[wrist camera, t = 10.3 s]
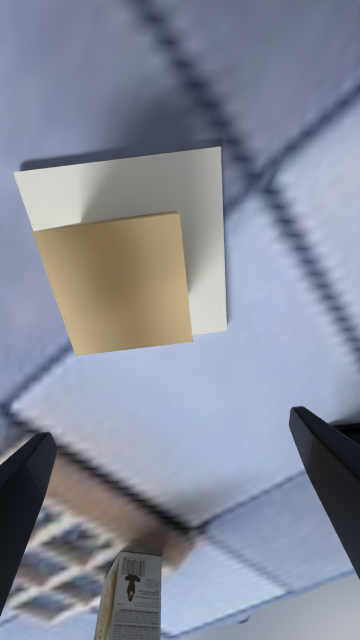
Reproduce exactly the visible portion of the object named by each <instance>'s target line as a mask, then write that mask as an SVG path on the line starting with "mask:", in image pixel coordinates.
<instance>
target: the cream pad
mask: <svg viewBox="0 0 360 640" xmlns="http://www.w3.org/2000/svg"><path fill="white" fill-rule="evenodd" d="M13 173H14V176H15V179H16V182H17V185H18V187H19V190H20V193H21V196H22V199H23V202H24V205H25V208H26V210H27V213H28V216H29V219H30V222H31V225H32V228H33V231H39V230H44V229H49V228H55V227H60V226H65V225H70V224H75V223H81V222H89V221H97V220H105V219H113V218H121V217H129V216H137V215H145V214H153V213H161V212H169V211H177V212H178V213H180V222H181V232H182V241H183V251H184V261H185V270H186V280H187V289H188V299H189V308H190V318H191V327H192V335H198V334H206V333H214V332H223V331H227V319H226V288H225V258H224V227H223V196H222V165H221V147H213V148H205V149H197V150H188V151H180V152H172V153H164V154H156V155H148V156H140V157H132V158H124V159H116V160H108V161H100V162H92V163H84V164H76V165H68V166H60V167H52V168H44V169H36V170H28V171H20V172H13Z"/></svg>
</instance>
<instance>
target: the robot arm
mask: <svg viewBox="0 0 360 640" xmlns="http://www.w3.org/2000/svg"><path fill="white" fill-rule="evenodd" d="M289 427H290V431H291V433H292V436H293V439H294V441H295V444H296V446H297V449H298V452H299V454H300V457H301V460H302V462H303V465H304V467H305V470H306V472H307V474H308V477H309V479H310V481H311V483H312V485H313V487H314V489H315V491H316V493H317V495H318V497H319V499H320V501H321V503H322V505H323V507H324V509H325V511H326V513H327V515H328V517H329V519H330V521H331V523H332V525H333V527H334V529H335V531H336V533H337V535H338V537H339V539H340V541H341V543H342V545H343V547H344V549H345V551H346V553H347V555H348V557H349V559H350V561H351V563H352V565H353V567H354V569H355V571H356V573H357V575H358V577H359V579H360V424H353V425H344V426H336V427H332V426H331V425H329V424H328V423H326V422H325V421H324V420H322V419H321V418H319V417H318V416H316V415H315V414H314V413H312V412H311V411H309V410H308V409H306V408H305V407H303V406H298V407H292V408H291V410H290V419H289ZM56 455H57V445H56V443H55V441H54V439H53V437H52V434H51V433H50V432H41V433H37V434H36V435H35V436H34V437H32V438H31V439H30V440H29V441H28V442H26V443H25V444H24V445H23V446H22V447H21V448H19V449H18V450H17V451H16V452H15V453H14V454H12V455H11V456H10V457H9V458H8V459H7V460H5V461H4V462H3V463H2V464H1V465H0V616H1V613H2V611H3V608H4V605H5V603H6V600H7V597H8V595H9V592H10V589H11V587H12V584H13V581H14V579H15V576H16V573H17V571H18V568H19V565H20V563H21V560H22V557H23V555H24V552H25V549H26V546H27V544H28V541H29V538H30V536H31V533H32V530H33V528H34V525H35V522H36V520H37V517H38V514H39V512H40V509H41V506H42V504H43V501H44V498H45V495H46V491H47V488H48V484H49V480H50V477H51V473H52V469H53V466H54V462H55V458H56Z"/></svg>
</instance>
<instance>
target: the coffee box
mask: <svg viewBox="0 0 360 640" xmlns="http://www.w3.org/2000/svg"><path fill="white" fill-rule="evenodd" d="M160 626H161V556H155V555H147V554H139V553H131V552H123V551H121V552H120V553H119V554H118V556H117V558H116V559H115V561H114V563H113V565H112V567H111V568H110V570H109V572H108V574H107V576H106V577H105V579H104V582H103V589H102V595H101V601H100V606H99V612H98V618H97V624H96V630H95V636H94V640H160Z"/></svg>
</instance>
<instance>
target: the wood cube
mask: <svg viewBox="0 0 360 640" xmlns="http://www.w3.org/2000/svg"><path fill="white" fill-rule="evenodd" d="M32 233H33V236H34V239H35V241H36V244H37V247H38V250H39V253H40V256H41V258H42V261H43V264H44V267H45V270H46V273H47V275H48V278H49V281H50V284H51V287H52V290H53V292H54V295H55V298H56V301H57V304H58V306H59V309H60V312H61V315H62V318H63V321H64V323H65V326H66V329H67V332H68V335H69V338H70V340H71V343H72V346H73V349H74V352H75V355H76V356H78V355H87V354H95V353H103V352H111V351H119V350H128V349H136V348H144V347H152V346H160V345H169V344H177V343H185V342H193V337H192V327H191V318H190V308H189V299H188V289H187V280H186V270H185V261H184V251H183V241H182V232H181V222H180V213H178V212H177V211H169V212H161V213H153V214H145V215H137V216H129V217H121V218H113V219H105V220H97V221H89V222H81V223H75V224H70V225H65V226H60V227H55V228H49V229H44V230H39V231H34V232H32Z"/></svg>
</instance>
